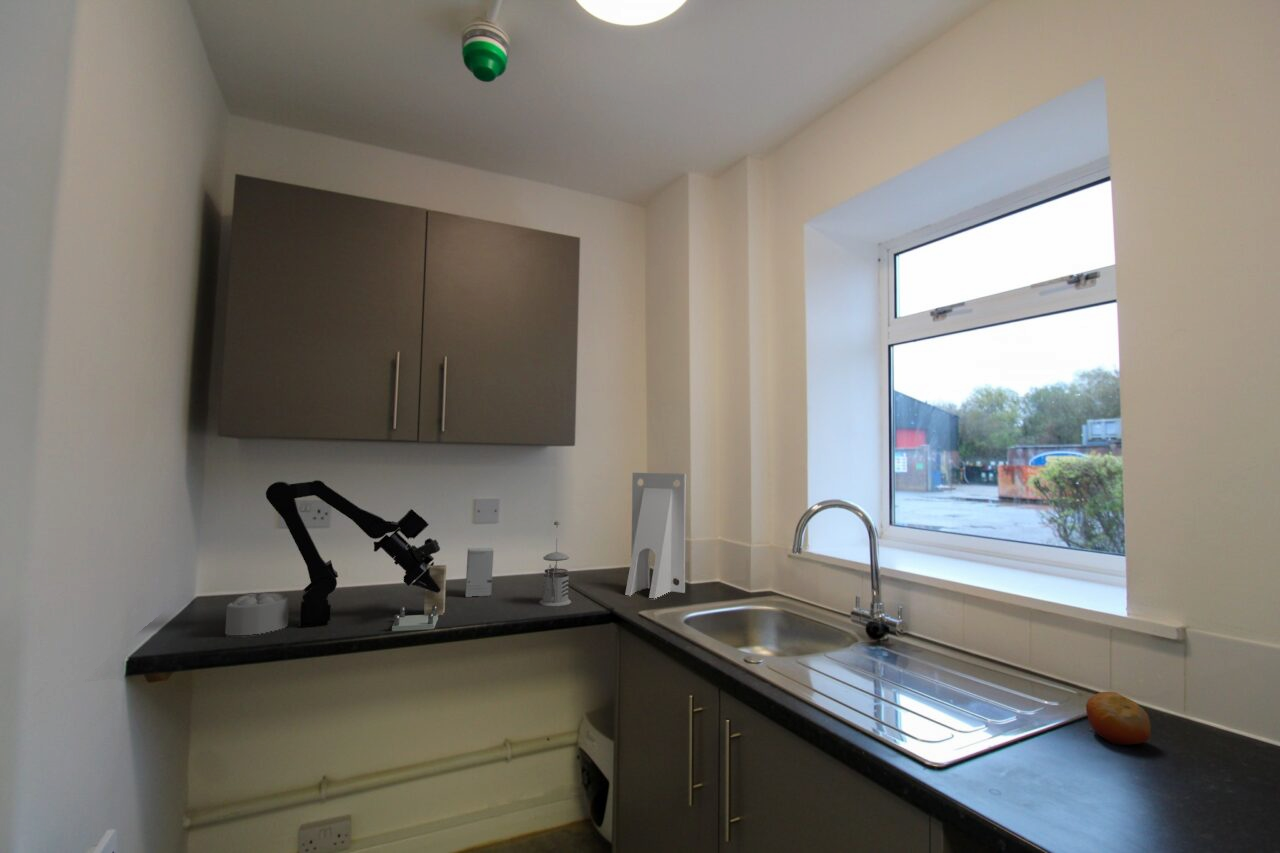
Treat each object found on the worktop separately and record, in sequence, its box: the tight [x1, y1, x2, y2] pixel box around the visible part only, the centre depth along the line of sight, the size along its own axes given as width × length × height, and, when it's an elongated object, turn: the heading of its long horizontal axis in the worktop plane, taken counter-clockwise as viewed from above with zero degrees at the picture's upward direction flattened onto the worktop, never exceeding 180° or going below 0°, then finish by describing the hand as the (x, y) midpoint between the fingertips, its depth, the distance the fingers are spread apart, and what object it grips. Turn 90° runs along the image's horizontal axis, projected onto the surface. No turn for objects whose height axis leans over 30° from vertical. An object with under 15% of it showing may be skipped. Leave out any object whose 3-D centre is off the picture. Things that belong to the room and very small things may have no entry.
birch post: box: [423, 564, 447, 616], centre depth 164 cm, size 5×5×13 cm
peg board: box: [391, 605, 439, 632], centre depth 153 cm, size 10×10×4 cm
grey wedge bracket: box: [624, 472, 687, 600], centre depth 194 cm, size 20×14×40 cm
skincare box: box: [464, 547, 495, 598], centre depth 188 cm, size 8×6×15 cm
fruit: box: [1085, 691, 1152, 746], centre depth 93 cm, size 8×8×8 cm
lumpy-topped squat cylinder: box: [224, 591, 290, 636], centre depth 147 cm, size 10×13×9 cm
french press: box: [539, 520, 572, 607], centre depth 179 cm, size 10×12×25 cm
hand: (440, 589), depth 165 cm, fingers closed on birch post, 5 cm apart
